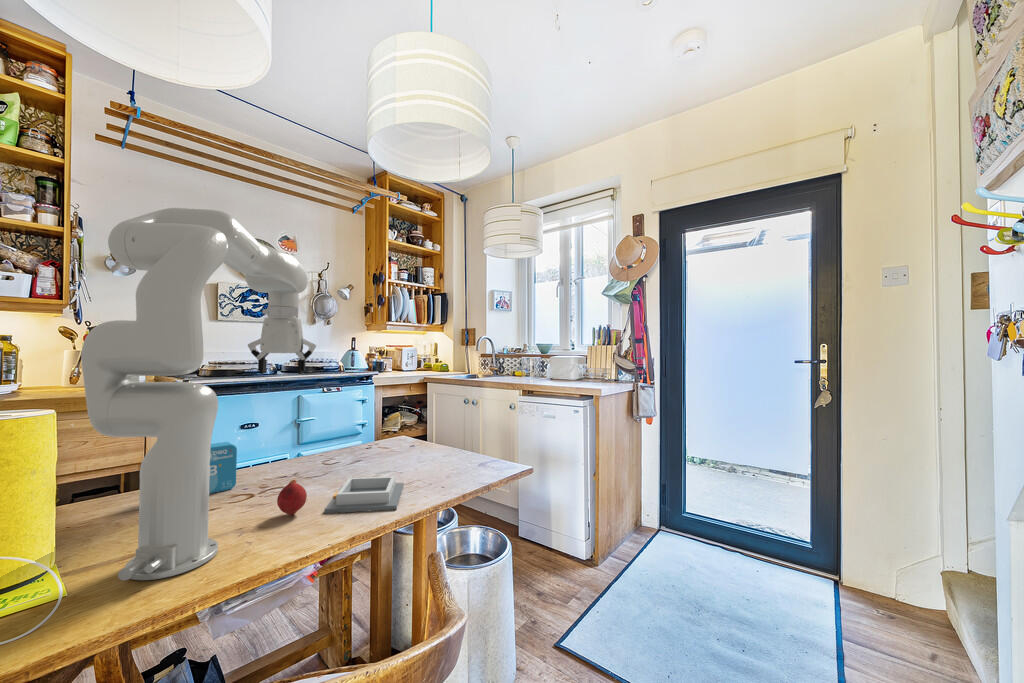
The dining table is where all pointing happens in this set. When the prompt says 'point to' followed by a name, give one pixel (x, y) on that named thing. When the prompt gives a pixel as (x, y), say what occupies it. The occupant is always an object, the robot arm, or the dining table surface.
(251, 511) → the dining table surface
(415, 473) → the dining table surface
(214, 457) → the data package
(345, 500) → the tray
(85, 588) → the dining table surface
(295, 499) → the onion
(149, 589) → the dining table surface
